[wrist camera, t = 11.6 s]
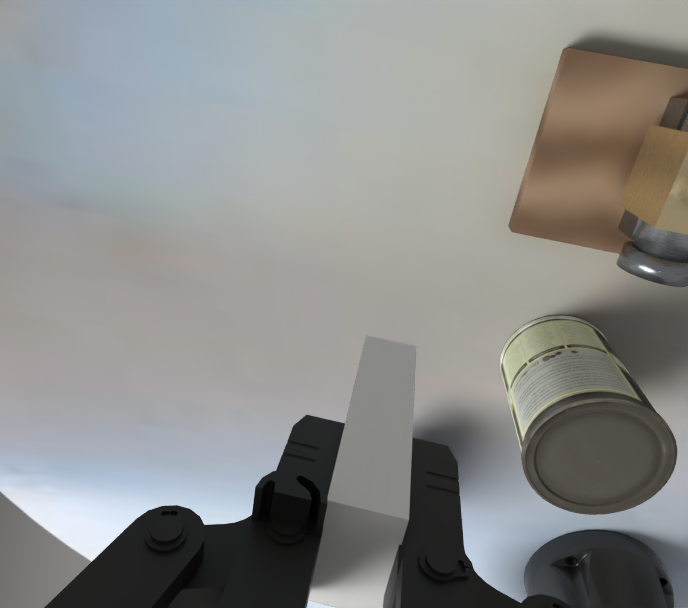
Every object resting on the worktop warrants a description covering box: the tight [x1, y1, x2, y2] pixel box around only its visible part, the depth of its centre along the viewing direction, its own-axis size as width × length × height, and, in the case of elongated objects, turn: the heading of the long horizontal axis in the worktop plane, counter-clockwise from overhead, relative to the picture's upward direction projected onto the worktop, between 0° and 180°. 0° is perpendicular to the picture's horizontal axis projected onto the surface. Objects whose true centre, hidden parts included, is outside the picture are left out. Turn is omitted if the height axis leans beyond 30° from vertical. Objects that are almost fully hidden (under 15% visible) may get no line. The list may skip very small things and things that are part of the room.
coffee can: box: [500, 315, 677, 515], centre depth 43 cm, size 10×10×14 cm
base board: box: [509, 48, 688, 254], centre depth 41 cm, size 14×20×2 cm
